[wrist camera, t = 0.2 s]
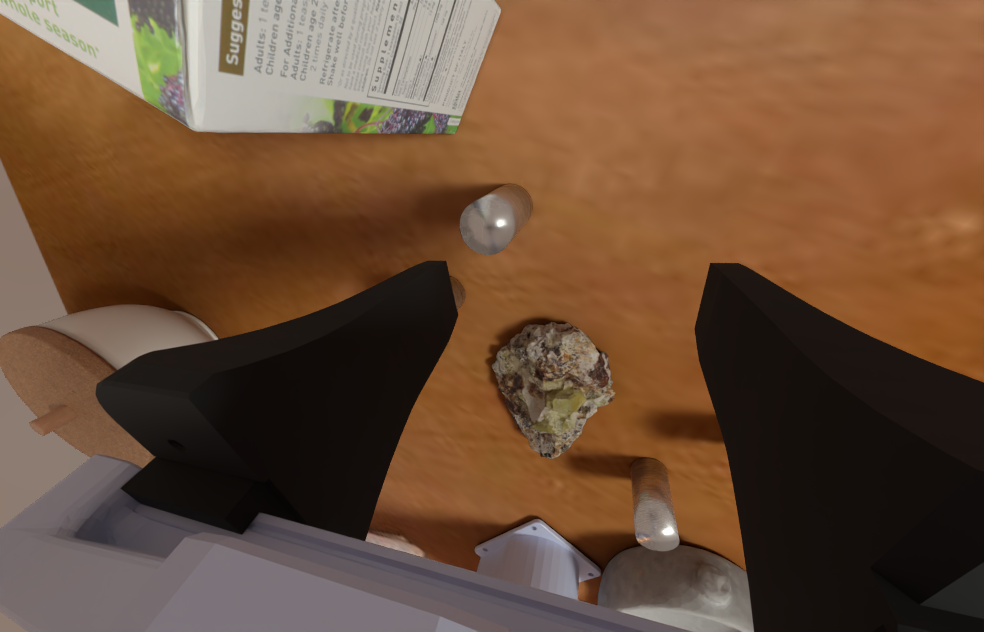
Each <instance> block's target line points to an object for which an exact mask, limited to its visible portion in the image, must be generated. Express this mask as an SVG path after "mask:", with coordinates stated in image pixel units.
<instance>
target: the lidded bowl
mask: <svg viewBox="0 0 984 632" xmlns="http://www.w3.org/2000/svg"><path fill="white" fill-rule="evenodd" d="M218 339H219V338H218V337H217V336H216V334H215V333H214V332H213V331H212V330H211V329H210V328H209V327H208V326H207V325H206V324H205V323H203V322H202V321H201V320H199V319H198V318H196V317H195V316H193V315H191V314H189V313H186V312H183V311H177V310H174V311H170V310H167V309H163V308H160V307H155V306H149V305H136V304H125V305H113V306H106V307H100V308H94V309H89V310H85V311H81V312H77V313H73V314H69V315H66V316H63V317H60V318H57V319H53V320H51V321H48V322H45V323H42V324H39V325H36V326H29V327H24V328H21V329H18V330H15V331H12V332H9V333H7V334H5V335H4V336H2V337H1V339H0V366H1V368H2V371H3V373H4V375H5V377H6V378H7V380H8V381H9V383H10V385H11V386H12V388H13V389H14V390H15V392H16V393H17V395H18V396H19V397H20V398H21V399H22V401H23V402H24V403H25V404H26V405H27V406H28V407H29V408H30V410H31V411H32V412H33V413H34V414H35V415H36V416H37V417H38V418H37V419H35V420H33V421H31V422H30V423H29V424H30V426H31V427H32V428H33V429H34V430H35V431H36V432H37V433H38V434H40V435H43V436H45V435H46V434H48V433H50V432H52V431H53V432H55V433H56V434H57V435H58V436H60V437H61V438H62V439H64V440H65V441H66V442H68V443H69V444H70V445H72V446H73V447H75V448H76V449H78V450H79V451H81V452H82V453H84V454H86V455H88V456H89V457H92V456H94V455H97V454H103V455H107V456H111V457H115V458H119V459H122V460H126V461H129V462H132V463H134V464H136V465H138V466H140V467H142V468H144V467H145V466H146V465H147V464H148V463H149V462H150V461H152V460H153V459H154V458H155V456H153V455H152V454H151V453H150V452H149V451H148V450H146V449H145V448H144V447H143V446H142V445H141V444H140V443H139V442H138V441H136V440H135V439H134V438H133V437H132V436H131V435H130V434H129V433H128V432H126V431H125V430H124V429H123V428H122V427H121V426H120V425H119V424H118V423H116V422H115V421H114V420H113V419H112V418H111V417H110V416H109V415H108V414H107V413H106V411H105V410H104V409H103V408H102V406H101V405H100V404H99V402H98V400H97V397H96V395H95V393H96V385H97V383H99V382H100V381H102V380H103V379H105V378H106V377H108V376H109V375H111V374H112V373H114V372H115V371H117V370H118V369H120V368H121V367H123V366H124V365H126V364H128V363H129V362H131V361H132V360H134V359H135V358H137V357H139V356H141V355H143V354H146V353H149V352H152V351H156V350H163V349H169V348H174V347H180V346H186V345H192V344H197V343H203V342H208V341H213V340H218Z"/></svg>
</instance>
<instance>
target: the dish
mask: <svg viewBox="0 0 984 632" xmlns="http://www.w3.org/2000/svg"><path fill="white" fill-rule="evenodd" d="M598 606H601V607H605V608H609V609H612V610H616V611H619V612H623V613H627V614H630V615H634V616H638V617H641V618H645V619H649V620H652V621H656V622H659V623H663V624H667V625H670V626H674V627H678V628H681V629H685V630H688V631H692V632H754V627H753V619H752V610H751V602H750V593H749V585H748V578H747V573H746V572H745V571H744V570H742V569H741V568H740V567H738V566H737V565H735V564H733V563H731V562H730V561H728V560H726V559H725V558H723V557H720V556H718V555H716V554H713V553H711V552H708V551H705V550H702V549H698V548H694V547H689V546H684V545H678V546H677V547H676V548H675V549H672V550H669V551H655V550H651V549H648V548H646V547H644V546H638V547H633V548H630V549H627V550H624V551H622V552H620V553H619V554H617V555H616V556H615V557H613V558H612V559H611V560H610V561H609V563H608V564H607V566H606V568H605V570H604V573H603V575H602V579H601V583H600V587H599V593H598Z"/></svg>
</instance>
